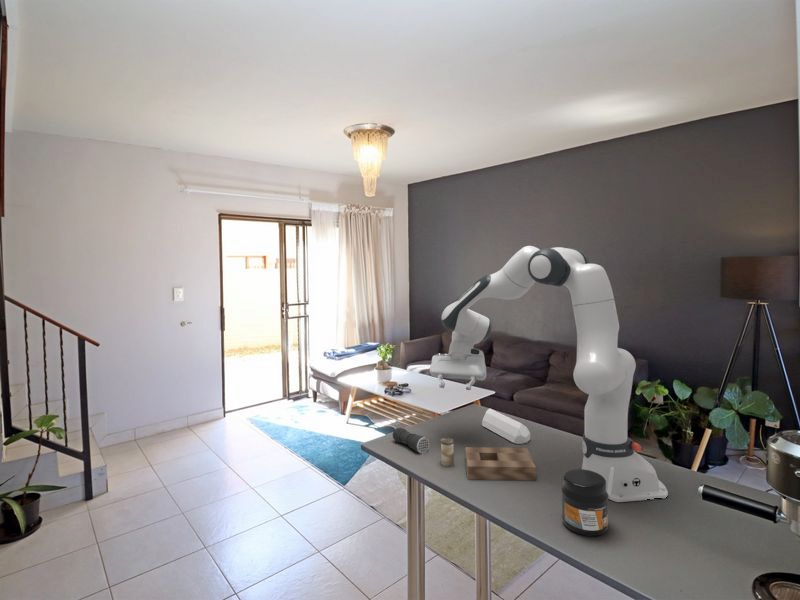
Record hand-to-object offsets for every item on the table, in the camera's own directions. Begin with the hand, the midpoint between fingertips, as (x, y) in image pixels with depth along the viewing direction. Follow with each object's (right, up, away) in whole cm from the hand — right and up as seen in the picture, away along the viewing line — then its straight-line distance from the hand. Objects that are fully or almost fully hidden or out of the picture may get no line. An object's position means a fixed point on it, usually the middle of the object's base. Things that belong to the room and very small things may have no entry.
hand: (454, 388), depth 151 cm
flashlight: (-15, -22, +5) cm, 28 cm away
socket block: (+12, -22, -15) cm, 29 cm away
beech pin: (-4, -23, -10) cm, 25 cm away
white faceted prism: (+21, -21, +15) cm, 33 cm away
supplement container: (+26, -24, -45) cm, 58 cm away
